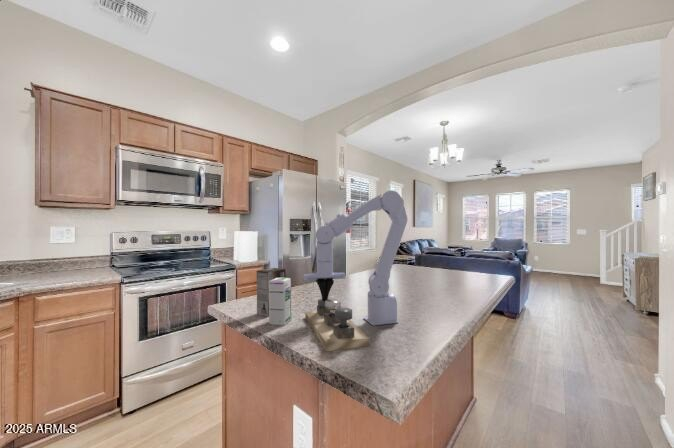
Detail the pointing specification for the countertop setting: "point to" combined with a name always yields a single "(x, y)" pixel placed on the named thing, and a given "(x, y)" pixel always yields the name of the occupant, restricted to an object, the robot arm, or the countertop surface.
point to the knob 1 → (321, 303)
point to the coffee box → (266, 288)
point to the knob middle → (332, 305)
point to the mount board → (335, 331)
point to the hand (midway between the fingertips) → (324, 300)
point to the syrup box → (279, 301)
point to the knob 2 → (343, 316)
